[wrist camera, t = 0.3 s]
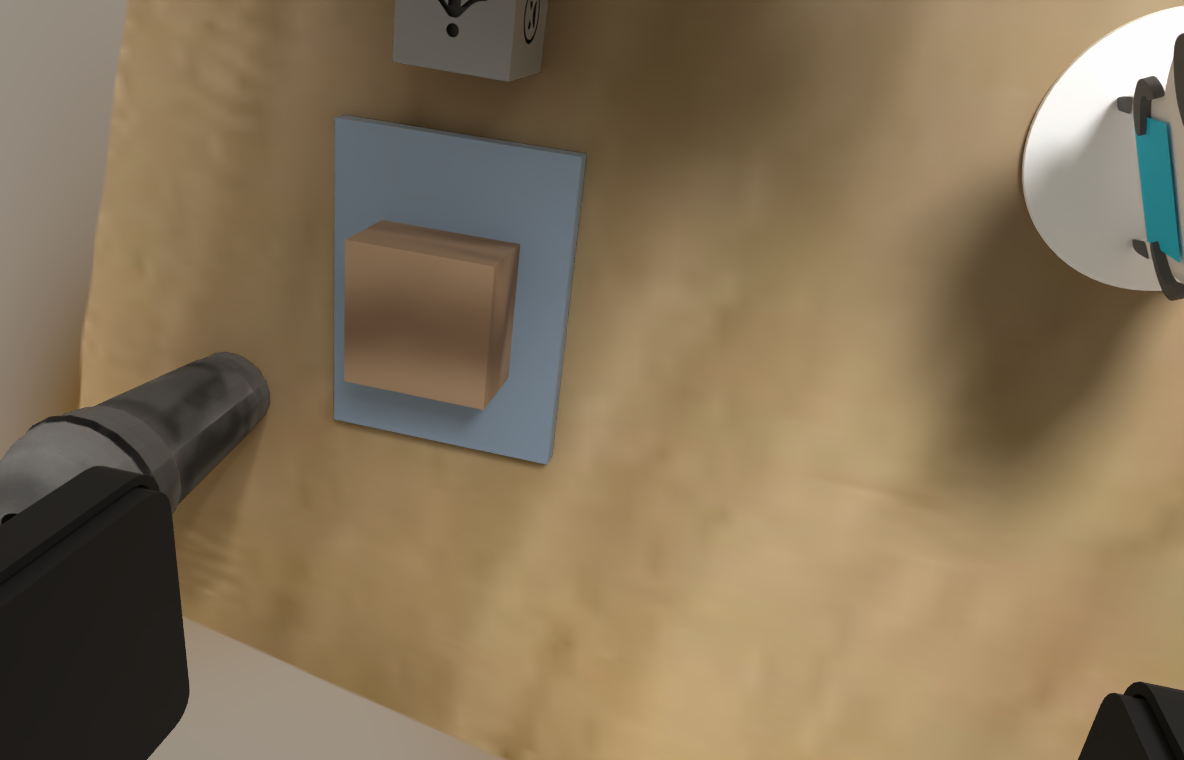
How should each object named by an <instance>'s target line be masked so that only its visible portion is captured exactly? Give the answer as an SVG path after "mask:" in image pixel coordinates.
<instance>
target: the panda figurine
mask: <svg viewBox="0 0 1184 760" xmlns="http://www.w3.org/2000/svg"><path fill="white" fill-rule="evenodd" d="M1022 185H1023V193H1024V198H1025V202H1026V206H1027V209H1028V212H1029V215H1030V217H1031V219H1032V222H1033V224H1034V226H1035V228H1036V229H1037V231H1038V233H1039V234H1040V236H1041V237H1042V239H1043V240H1044V241H1045V243H1046V244H1047V245H1048V246H1049V247H1050V248H1051V249H1052V251H1053V252H1054V253H1055V254H1056V255H1057V256H1058V257H1059V258H1061V259H1062V260H1063V261H1064V262H1065V263H1067V264H1068V265H1069V266H1071V267H1072V268H1074V269H1075V270H1077V271H1078V272H1080V273H1082V274H1084V275H1086V276H1088V277H1090V278H1091V279H1094V280H1097V281H1099V282H1102V283H1104V284H1108V285H1112V286H1115V287H1119V288H1125V289H1131V290H1141V291H1163V293H1164V295H1165V296H1166V297H1167V298H1168V299H1169V300H1171V301H1173V300H1178V299H1183V298H1184V6H1179V7H1173V8H1169V9H1165V10H1161V11H1157V12H1154V13H1151V14H1148V15H1145V16H1143V17H1140V18H1138V19H1135V20H1133V21H1131V22H1129V23H1126V24H1125V25H1123V26H1121V27H1119V28H1117V29H1115V30H1113V31H1112V32H1110V33H1109V34H1107V35H1105V36H1104V37H1102V38H1101V39H1099V40H1098V41H1097V42H1095V43H1094V44H1092V45H1091V46H1090V47H1088V48H1087V49H1086V50H1085V51H1084V52H1083V53H1081V54H1080V55H1079V56H1078V57H1077V58H1076V59H1075V60H1074V61H1073V62H1072V63H1071V64H1070V65H1069V66H1068V67H1067V68H1066V69H1065V70H1064V71H1063V72H1062V74H1061V75H1060V76H1059V77H1058V79H1057V80H1056V81H1055V82H1054V84H1053V85H1052V86H1051V88H1050V89H1049V91H1048V92H1047V94H1046V95H1045V97H1044V99H1043V100H1042V102H1041V104H1040V106H1039V108H1038V110H1037V112H1036V114H1035V116H1034V119H1033V121H1032V123H1031V126H1030V129H1029V132H1028V135H1027V139H1026V143H1025V148H1024V153H1023V162H1022Z"/></svg>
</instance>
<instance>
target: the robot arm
mask: <svg viewBox="0 0 1184 760" xmlns="http://www.w3.org/2000/svg"><path fill="white" fill-rule="evenodd" d="M188 698H189V678H188V669H187V659H186V649H185V639H184V629H183V619H182V610H181V600H180V590H179V580H178V570H177V561H176V551H175V541H174V531H173V521H172V511H171V505H170V500H169V499H168V497H167V496H166V494H164V493H162V492H160V489H159V485H158V484H157V482H156V481H155V479H154V478H152V477H150V476H148V475H144V474H140V473H135V472H130V471H125V470H120V469H116V468H111V467H106V466H93V467H91V468H89V469H86V470H84V471H83V472H81V473H80V474H78V475H77V476H75V477H74V478H72V479H71V480H69V481H68V482H66V483H65V484H63V485H61V486H60V487H58V488H57V489H55V490H54V491H52V492H51V493H49V494H48V495H46V496H45V497H43V498H42V499H40V500H38V501H37V502H35V503H34V504H32V505H31V506H29V507H28V508H26V509H25V510H23V511H22V512H20V513H19V514H17V515H15V516H14V517H12V518H11V519H9V520H8V521H6V522H5V523H3V524H2V525H0V760H147V759H148V758H149V756H150V755H151V754H152V753H153V752H154V751H155V749H156V748H157V747H158V746H159V745H160V744H161V743H162V741H163V740H164V739H165V738H166V737H167V736H168V734H169V733H170V732H171V731H172V730H173V729H174V728H175V726H176V725H177V723H178V722H179V721H180V719H181V717H182V715H183V713H184V711H185V709H186V706H187V703H188ZM1078 760H1184V691H1183V690H1178V689H1173V688H1168V687H1164V686H1159V685H1154V684H1149V683H1144V682H1135V683H1133V684H1132V685H1130V686H1129V687H1128V688H1127V689H1126V691H1125V693H1124V695H1122V694H1117V693H1110V694H1108V695H1107V696H1106V697H1105V698H1104V700H1103V702H1102V703H1101V705H1100V708H1099V710H1098V713H1097V715H1096V717H1095V720H1094V722H1093V725H1092V727H1091V729H1090V732H1089V734H1088V737H1087V739H1086V742H1085V744H1084V746H1083V749H1082V751H1081V754H1080V756H1079V758H1078Z"/></svg>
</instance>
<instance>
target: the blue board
mask: <svg viewBox="0 0 1184 760" xmlns="http://www.w3.org/2000/svg"><path fill="white" fill-rule="evenodd" d="M586 156H587V154H585V153H578V152H572V151H566V150H560V149H553V148H547V147H541V146H535V145H529V144H522V143H516V142H510V141H504V140H497V139H491V138H485V137H479V136H472V135H466V134H460V133H454V132H448V131H441V130H435V129H429V128H423V127H416V126H410V125H404V124H398V123H391V122H385V121H379V120H373V119H367V118H360V117H354V116H348V115H342V116H338V117H335V231H334V419H335V420H340V421H344V422H349V423H354V424H358V425H363V426H368V427H373V428H377V429H382V430H387V431H391V432H396V433H401V434H405V435H410V436H415V437H420V438H424V439H429V440H434V441H438V442H443V443H448V444H452V445H457V446H462V447H467V448H471V449H476V450H481V451H485V452H490V453H495V454H499V455H504V456H509V457H514V458H518V459H523V460H528V461H532V462H537V463H542V464H546V465H548V463H549V461H550V459H551V457H552V453H553V445H554V436H555V427H556V418H557V410H558V401H559V392H560V383H561V375H562V366H563V357H564V348H565V340H566V331H567V322H568V313H569V305H570V296H571V287H572V278H573V270H574V261H575V252H576V243H577V235H578V226H579V217H580V208H581V200H582V191H583V182H584V173H585V165H586ZM381 220H387V221H392V222H398V223H404V224H409V225H415V226H421V227H426V228H432V229H437V230H443V231H449V232H454V233H460V234H466V235H471V236H477V237H483V238H488V239H494V240H500V241H505V242H511V243H516V244H520V254H519V265H518V276H517V288H516V299H515V310H514V321H513V333H512V344H511V355H510V367H509V378H508V379H507V380H506V382H505V383H504V384H503V385H502V387H501V388H500V389H499V391H498V392H497V393H496V394H495V396H494V397H493V398H492V400H491V401H490V402H489V404H488V405H487V406H486V407H485V409H484V410H482V409H477V408H472V407H467V406H462V405H457V404H452V403H448V402H443V401H438V400H433V399H428V398H423V397H418V396H414V395H409V394H404V393H399V392H394V391H389V390H384V389H380V388H375V387H370V386H365V385H360V384H355V383H350V382H346V381H344V319H345V239H347V238H349V237H351V236H353V235H355V234H356V233H358V232H360V231H362V230H364V229H366V228H368V227H370V226H371V225H373V224H375V223H377V222H379V221H381Z"/></svg>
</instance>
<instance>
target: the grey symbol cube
mask: <svg viewBox="0 0 1184 760" xmlns="http://www.w3.org/2000/svg"><path fill="white" fill-rule="evenodd" d="M547 8H548V0H395V9H394V32H393V55H392V62H396V63H402V64H408V65H413V66H419V67H425V68H431V69H437V70H443V71H448V72H454V73H460V74H466V75H472V76H478V77H483V78H489V79H495V80H501V81H507V82H510V81H513V80H517V79H520V78H523V77H527V76H530V75H533V74H536V73H540V72H541V63H542V54H543V45H544V35H545V26H546V17H547Z"/></svg>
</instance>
